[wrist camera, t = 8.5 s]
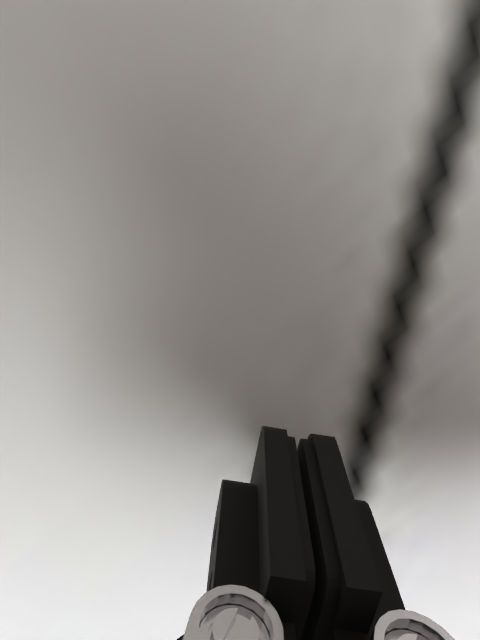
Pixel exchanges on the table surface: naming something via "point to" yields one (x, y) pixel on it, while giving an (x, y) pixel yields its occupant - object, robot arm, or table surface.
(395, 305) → the table surface
